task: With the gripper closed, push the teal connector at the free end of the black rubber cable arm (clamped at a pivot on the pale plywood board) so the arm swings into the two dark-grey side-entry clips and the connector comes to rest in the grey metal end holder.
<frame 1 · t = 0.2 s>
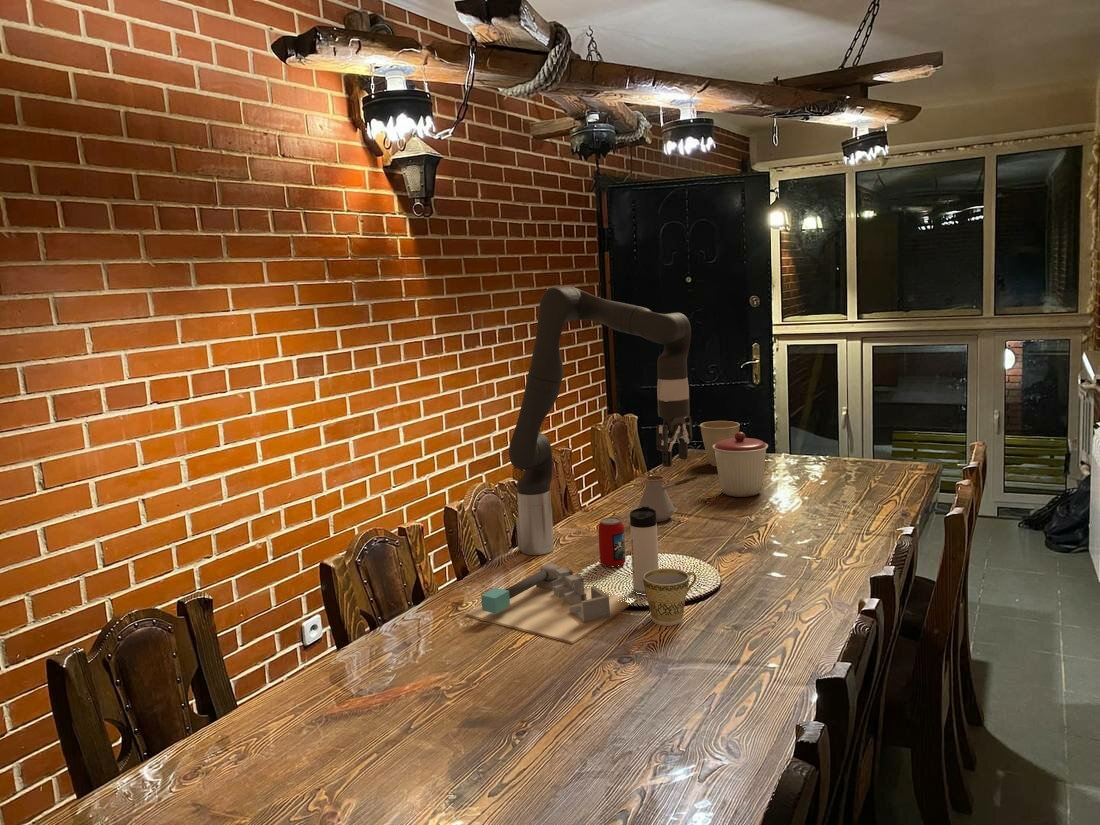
hand: (675, 462, 199), 29 cm above the table, fingers open, 8 cm apart
clip a: (563, 596, 196), resting on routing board
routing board: (551, 608, 189), on the table
plant pot: (721, 465, 318), on the table
travel mug: (646, 591, 196), on the table
coffee pot: (670, 520, 251), on the table
cable arm: (523, 585, 193), point 4 cm above the table, hinge at 0.0°
ceramic cup: (673, 619, 179), on the table
beverage can: (613, 564, 215), on the table
end holder: (587, 616, 183), resting on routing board
clip b: (573, 603, 191), resting on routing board
canister: (741, 494, 276), on the table
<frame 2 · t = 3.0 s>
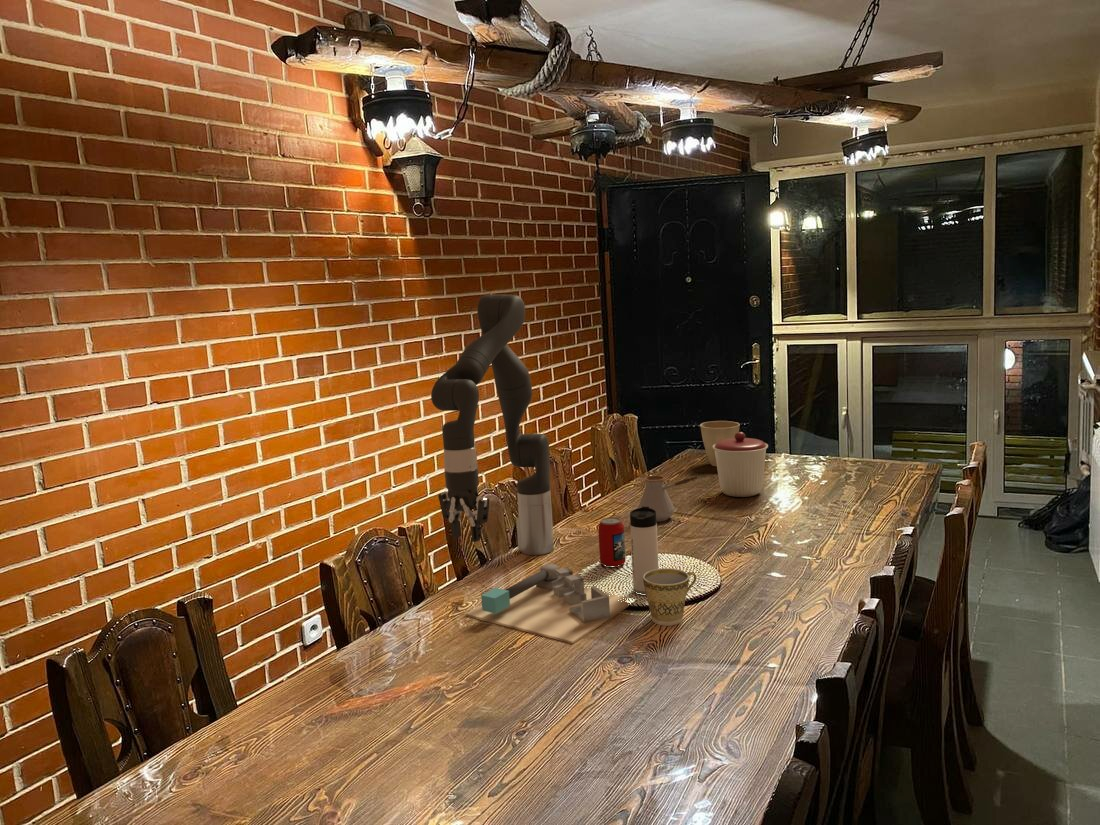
hand: (466, 538, 187), 17 cm above the table, fingers open, 5 cm apart
nothing on the table moved.
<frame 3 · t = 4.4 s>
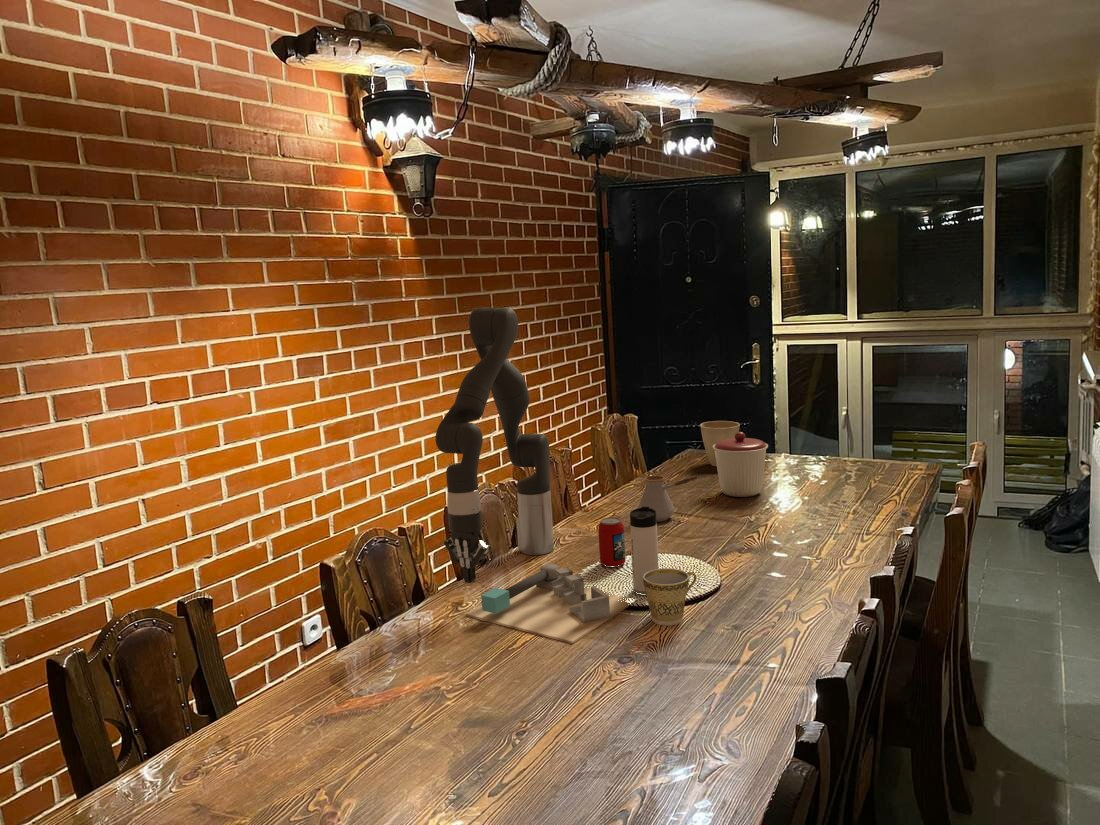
hand: (469, 581, 189), 7 cm above the table, fingers closed
nothing on the table moved.
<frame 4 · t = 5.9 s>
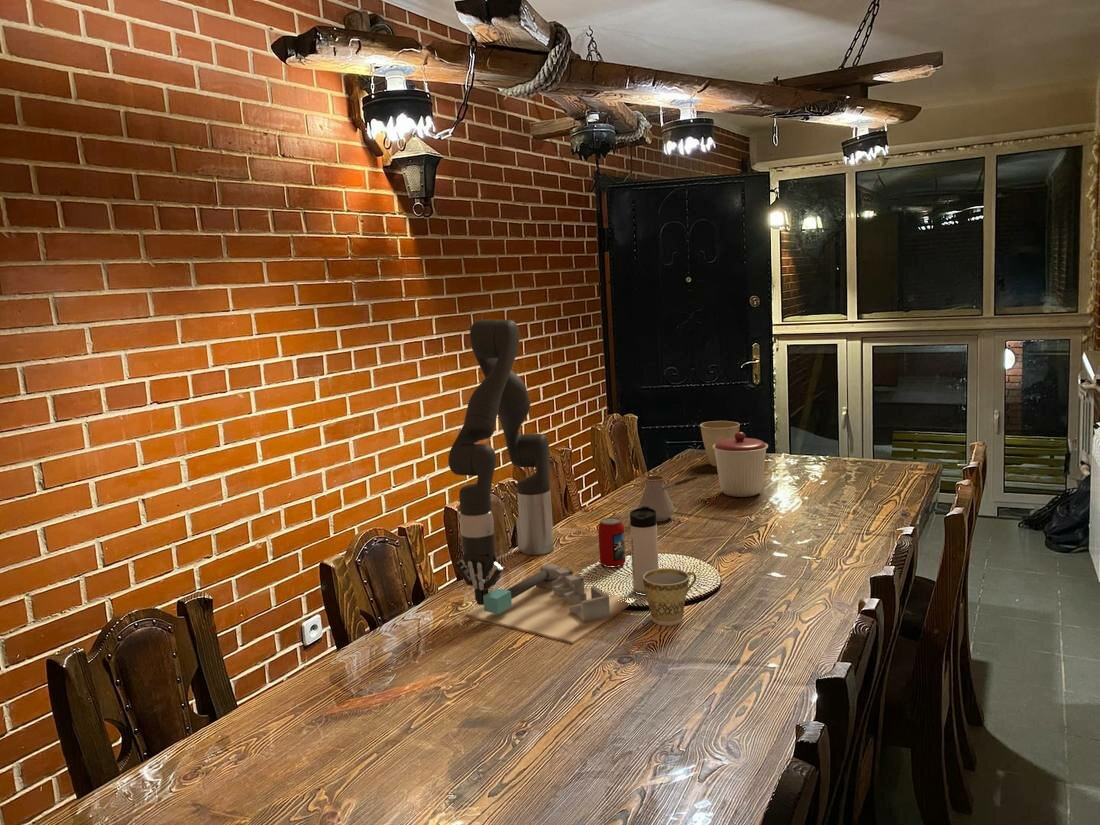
hand: (482, 603, 187), 3 cm above the table, fingers closed
cable arm: (524, 586, 193), point 4 cm above the table, hinge at 1.6°, touching gripper
everything else where it was.
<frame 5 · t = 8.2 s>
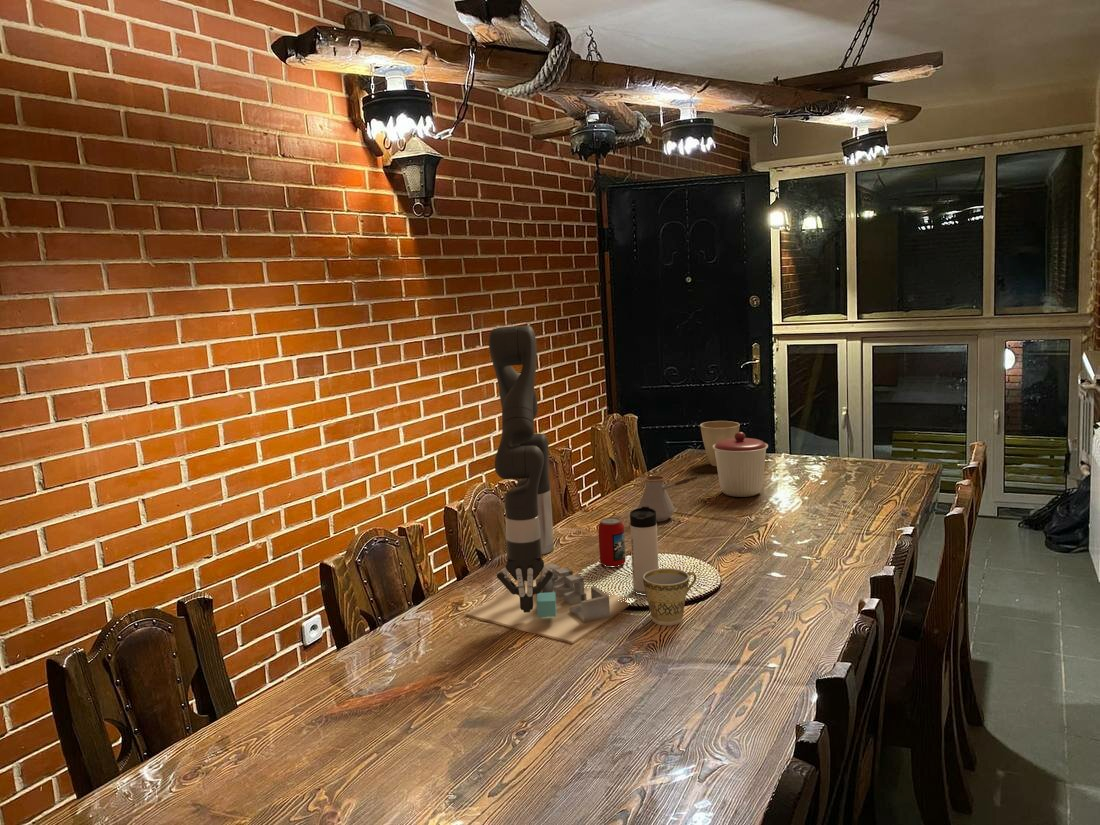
hand: (527, 611, 181), 3 cm above the table, fingers closed
cable arm: (548, 587, 191), point 4 cm above the table, hinge at 34.7°, touching gripper
everything else where it was.
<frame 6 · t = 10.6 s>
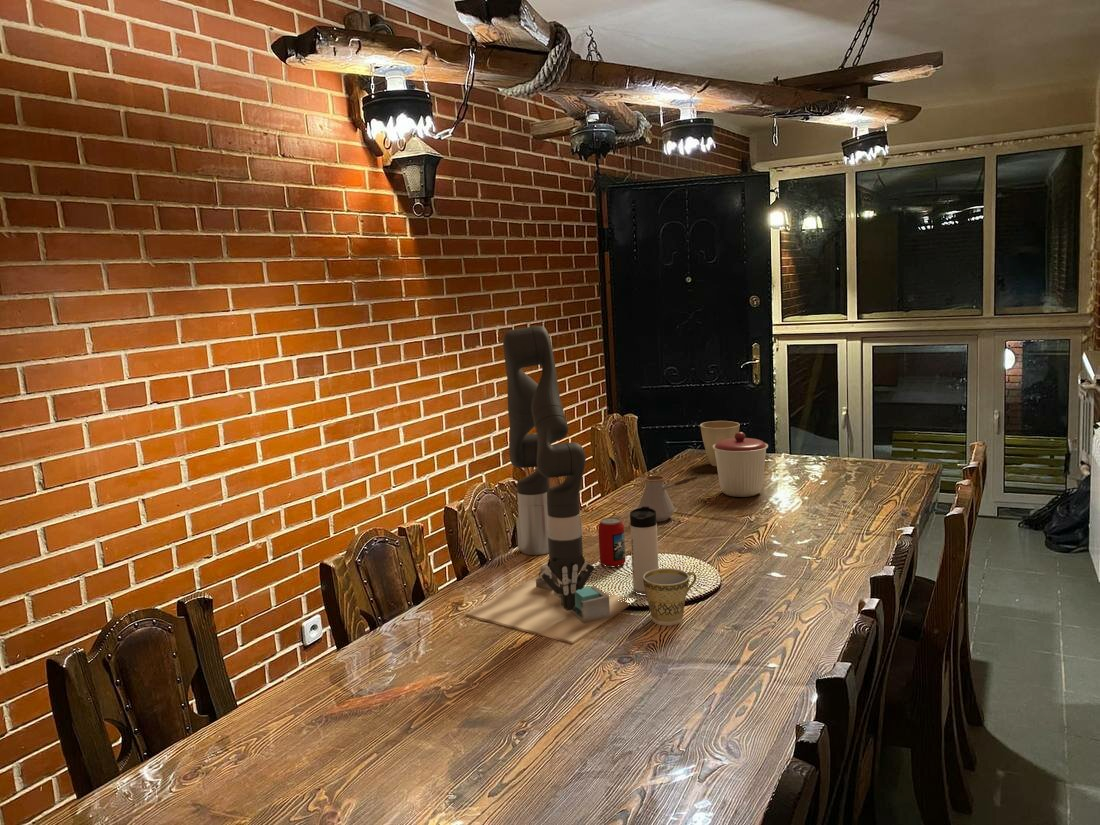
hand: (568, 608, 181), 3 cm above the table, fingers closed
cable arm: (567, 585, 192), point 4 cm above the table, hinge at 60.2°, touching gripper
everything else where it was.
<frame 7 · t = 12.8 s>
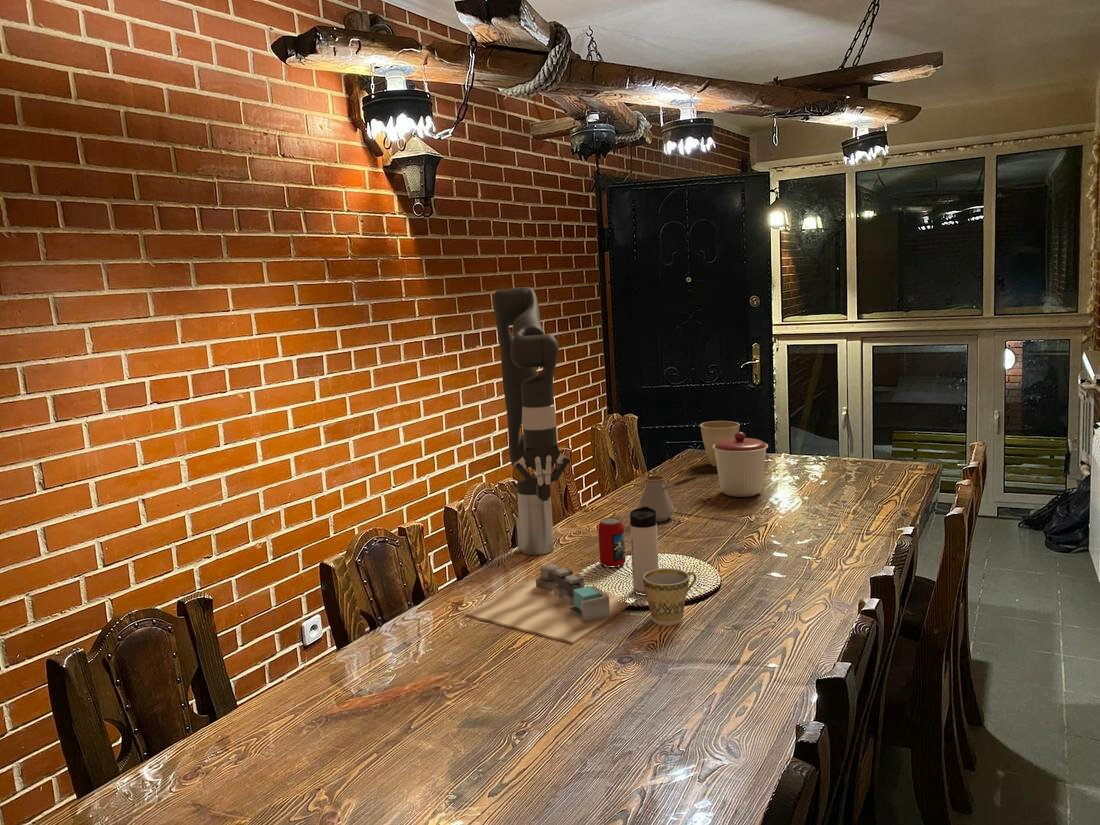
hand: (544, 500, 185), 26 cm above the table, fingers closed
cable arm: (567, 585, 192), point 4 cm above the table, hinge at 60.4°
everything else where it was.
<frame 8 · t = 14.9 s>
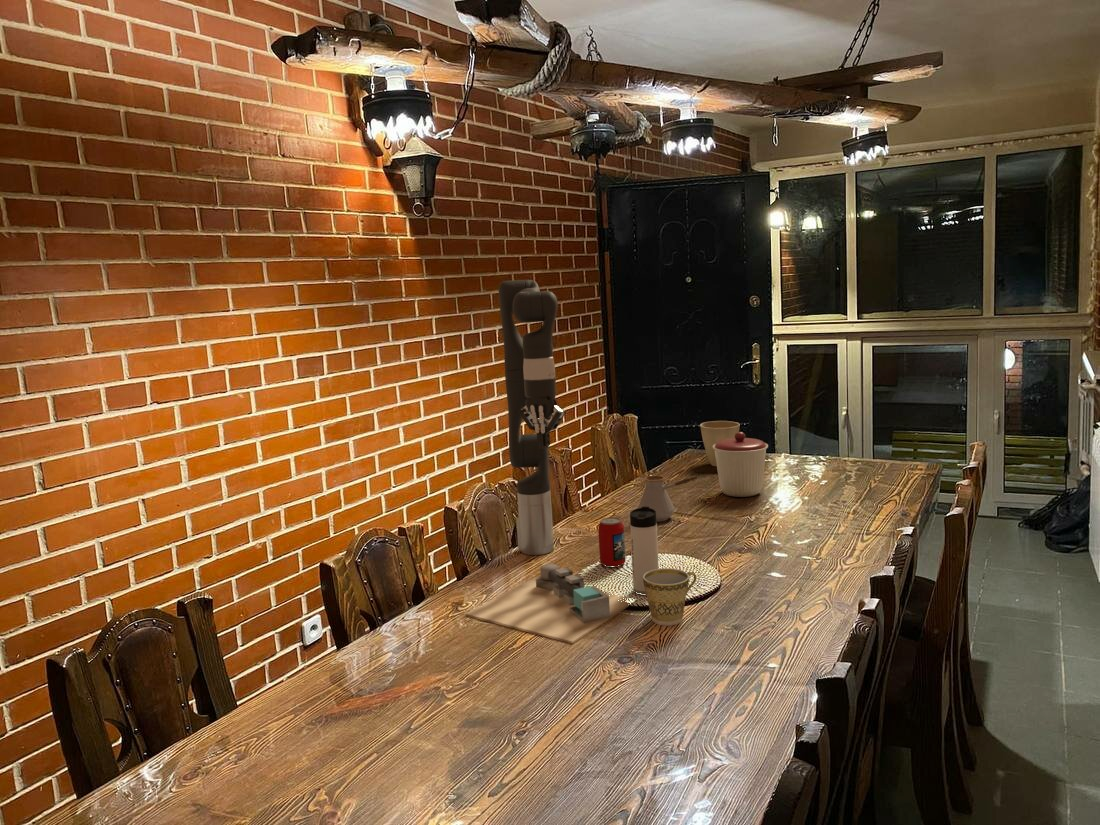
hand: (544, 447, 197), 35 cm above the table, fingers closed
nothing on the table moved.
at the end: cable arm at +60° (first picture: +0°); cable arm touching nothing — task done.
